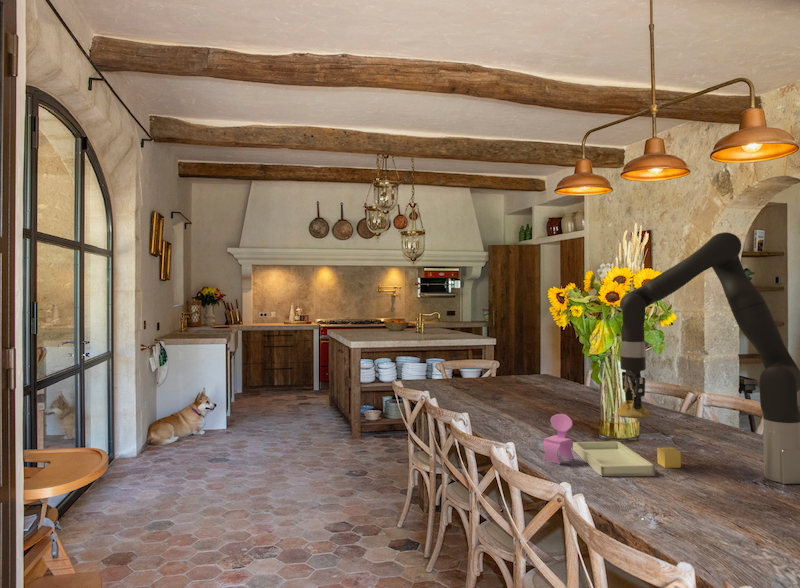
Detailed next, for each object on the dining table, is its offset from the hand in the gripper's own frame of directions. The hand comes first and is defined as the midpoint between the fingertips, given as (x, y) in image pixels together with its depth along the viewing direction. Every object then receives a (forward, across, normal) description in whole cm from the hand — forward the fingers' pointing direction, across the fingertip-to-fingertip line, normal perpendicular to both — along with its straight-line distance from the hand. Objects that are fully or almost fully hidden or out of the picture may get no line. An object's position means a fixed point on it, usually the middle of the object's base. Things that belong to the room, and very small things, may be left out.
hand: (633, 406), depth 182 cm
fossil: (+3, -1, 0) cm, 3 cm away
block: (+18, -3, -10) cm, 21 cm away
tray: (+18, 0, +7) cm, 20 cm away
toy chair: (+19, +2, +24) cm, 30 cm away
